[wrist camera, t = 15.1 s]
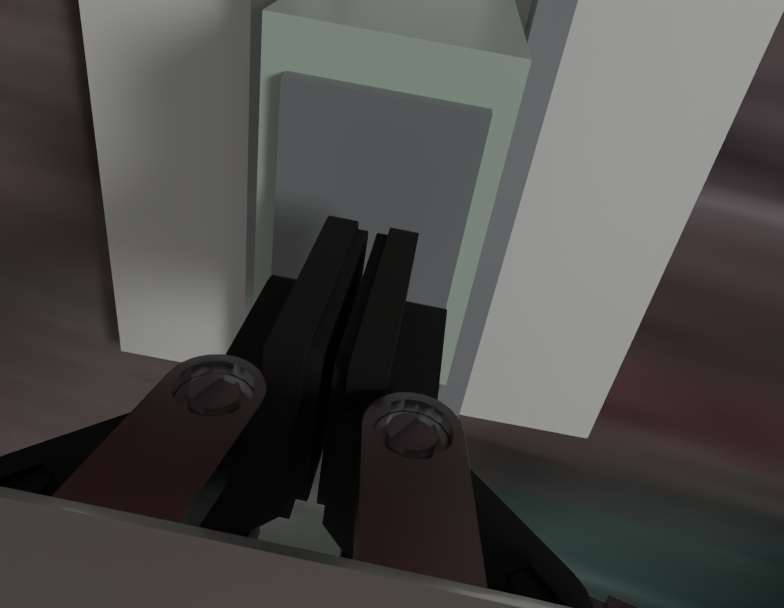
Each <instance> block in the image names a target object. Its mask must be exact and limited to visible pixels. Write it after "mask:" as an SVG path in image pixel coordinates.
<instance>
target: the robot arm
mask: <svg viewBox="0 0 784 608" xmlns="http://www.w3.org/2000/svg"><path fill="white" fill-rule="evenodd" d="M358 228H359V222H358V221H355V220H350V219H345V218H340V217H335V216H330V215H329V216H328V217H327V219H326V221H325V223H324V225H323V227H322V229H321V231H320V233H319V236H318V238H317V240H316V242H315V244H314V246H313V248H312V250H311V252H310V254H309V256H308V258H307V260H306V262H305V264H304V266H303V268H302V270H301V272H300V274H299V276H298V278H297V279H293V278H288V277H283V276H278V275H271V276H270V277H269V279H268V280H267V282H266V284H265V286H264V287H263V289H262V291H261V293H260V294H259V296H258V298H257V300H256V301H255V303H254V305H253V307H252V308H251V310H250V312H249V314H248V316H247V317H246V319H245V321H244V323H243V324H242V326H241V328H240V330H239V331H238V333H237V335H236V337H235V338H234V340H233V342H232V344H231V346H230V347H229V349H228V351H227V353H226V354H208V355H203V356H198V357H193V358H191V359H188V360H186V361H184V362H181V363H179V364H178V365H176V366H175V367H174V368H173V369H171V370H170V371H169V372H168V373H167V374H166V375H165V376H164V377H163V378H162V379H161V380H160V381H159V382H158V383H157V384H156V385H155V387H154V388H153V389H152V390H151V391H150V392H149V393H148V394H147V395H146V396H145V397H144V398H143V399H142V400H141V401H140V403H139V404H138V405H137V406H136V407H135V408H134V409H133V410H132V411H131V412H130V413H127V414H124V415H121V416H118V417H115V418H112V419H109V420H106V421H104V422H101V423H98V424H95V425H92V426H89V427H86V428H83V429H80V430H77V431H74V432H71V433H68V434H65V435H62V436H59V437H56V438H53V439H50V440H47V441H45V442H42V443H39V444H36V445H33V446H30V447H27V448H24V449H21V450H18V451H15V452H12V453H9V454H6V455H4V456H2V457H0V608H639V607H636V606H634V605H631V604H629V603H627V602H624V601H622V600H620V599H617V598H615V597H613V596H610V595H609V596H608V598H607V599H606V601H605V602H603V601H601V600H598V599H596V598H594V597H591V596H589V595H588V593H587V591H586V588H585V587H584V586H583V585H582V583H581V582H580V581H579V579H578V578H577V577H576V576H575V574H574V573H573V572H572V571H571V570H570V569H569V568H568V567H567V566H566V565H565V564H564V563H563V562H562V561H561V560H560V559H559V558H558V557H557V556H556V555H555V554H554V553H553V552H552V551H551V550H550V549H549V548H548V547H547V546H546V545H545V544H544V543H543V542H542V541H541V540H540V539H539V538H538V537H537V536H536V535H535V534H534V533H533V532H532V531H531V530H530V529H529V528H528V527H527V526H526V525H525V524H524V523H523V522H522V521H521V520H520V519H519V518H518V517H517V516H516V515H515V514H514V513H513V512H512V511H511V510H510V509H509V508H508V507H507V506H506V504H505V503H504V502H503V501H502V500H501V499H500V498H499V497H498V496H497V495H496V494H495V493H494V492H493V491H492V490H491V489H490V488H489V487H488V486H487V485H486V484H485V483H484V482H483V481H482V480H481V479H480V478H479V477H478V476H477V475H476V474H475V473H474V472H473V471H472V470H471V469H470V466H469V459H468V453H467V446H466V439H465V433H464V430H463V427H462V424H461V421H460V420H459V418H458V417H457V416H456V415H455V413H454V412H453V411H452V410H451V409H450V408H448V407H447V406H446V405H444V404H443V403H442V402H440V401H438V392H439V382H440V373H441V364H442V355H443V345H444V336H445V327H446V318H447V309H444V308H439V307H434V306H429V305H424V304H419V303H414V302H409V301H406V299H407V294H408V288H409V283H410V278H411V273H412V268H413V263H414V257H415V252H416V247H417V242H418V237H419V233H417V232H412V231H407V230H401V229H396V228H391V227H390V229H389V233H388V235H386V234H381V233H377V234H376V238H375V241H374V244H373V247H372V250H371V253H370V256H369V259H368V262H367V265H366V268H365V271H364V274H363V269H364V262H365V255H366V248H367V241H368V231H366V230H361V229H358ZM362 276H363V277H362ZM322 451H323V456H322V465H321V473H320V481H319V489H318V497H317V503H318V504H323V505H325V509H324V517H323V525H324V527H325V528H326V529H327V531H328V532H329V533H330V535H331V536H332V537H333V539H334V540H335V542H336V543H337V544H338V546H339V547H340V548H341V550H340V556H339V557H338V556H334V555H329V554H324V553H319V552H315V551H310V550H305V549H300V548H296V547H291V546H286V545H281V544H277V543H272V542H267V541H262V540H258V539H257V538H258V536H259V533H260V526H261V525H263V524H265V523H267V522H269V521H271V520H273V519H275V518H277V517H283V518H288V519H289V518H290V515H291V512H292V509H293V506H294V502H295V499H298V500H303V501H307V500H308V497H309V494H310V491H311V488H312V484H313V481H314V478H315V474H316V471H317V468H318V464H319V461H320V458H321V454H322Z"/></svg>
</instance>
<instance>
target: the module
mask: <svg viewBox="0 0 784 608" xmlns="http://www.w3.org/2000/svg"><path fill="white" fill-rule="evenodd" d="M531 62H532V58H531V54H530V51H529V47H528V44H527V40H526V37H525V34H524V30H523V27H522V23H521V20H520V16H519V13H518V9H517V6H516V3H515V0H277V1H276V2H274V3H273V4H271V5H269V6H268V7H266V8H265V9H263V10H262V39H261V71H260V103H259V135H258V167H257V200H256V232H255V264H254V296H253V305H254V303H255V301H256V300H257V298H258V296H259V294H260V293H261V291H262V289H263V287H264V286H265V284H266V282H267V280H268V279H269V277H270V276H271V275H278V276H283V277H288V278H293V279H297V278H298V276H299V274H300V272H301V270H302V268H303V266H304V264H305V262H306V260H307V258H308V256H309V254H310V252H311V250H312V248H313V246H314V244H315V242H316V240H317V238H318V236H319V233H320V231H321V229H322V227H323V225H324V223H325V221H326V219H327V217H328V216H329V215H330V216H335V217H340V218H345V219H350V220H355V221H358V222H359V228H358V229H361V230H366V231H368V241H367V248H366V255H365V262H364V269H363V274H364V271H365V268H366V265H367V262H368V259H369V256H370V253H371V250H372V247H373V244H374V241H375V238H376V234H377V233H381V234H386V235H388V233H389V229H390V227H391V228H396V229H401V230H407V231H412V232H417V233H419V237H418V242H417V247H416V252H415V257H414V263H413V268H412V273H411V278H410V283H409V288H408V294H407V299H406V301H409V302H414V303H419V304H424V305H429V306H434V307H439V308H444V309H447V318H446V327H445V336H444V345H443V355H442V364H441V373H440V382H439V384H443V385H446V383H447V380H448V376H449V372H450V368H451V364H452V361H453V357H454V353H455V349H456V345H457V342H458V338H459V334H460V330H461V327H462V323H463V319H464V315H465V311H466V308H467V304H468V300H469V296H470V293H471V289H472V285H473V281H474V277H475V274H476V270H477V266H478V262H479V259H480V255H481V251H482V247H483V243H484V240H485V236H486V232H487V228H488V225H489V221H490V217H491V213H492V209H493V206H494V202H495V198H496V194H497V190H498V187H499V183H500V179H501V175H502V172H503V168H504V164H505V160H506V156H507V153H508V149H509V145H510V141H511V138H512V134H513V130H514V126H515V122H516V119H517V115H518V111H519V107H520V104H521V100H522V96H523V92H524V88H525V85H526V81H527V77H528V73H529V70H530V66H531ZM362 277H363V276H362Z"/></svg>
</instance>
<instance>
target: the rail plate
mask: <svg viewBox="0 0 784 608" xmlns="http://www.w3.org/2000/svg"><path fill="white" fill-rule="evenodd" d="M276 1H277V0H79V8H80V17H81V25H82V33H83V41H84V49H85V58H86V66H87V74H88V82H89V90H90V99H91V107H92V115H93V123H94V132H95V140H96V148H97V156H98V164H99V173H100V181H101V189H102V197H103V205H104V214H105V222H106V230H107V238H108V246H109V255H110V263H111V271H112V279H113V288H114V296H115V304H116V312H117V320H118V329H119V337H120V345H121V351H125V352H130V353H135V354H140V355H146V356H151V357H156V358H162V359H167V360H172V361H178V362H184V361H186V360H188V359H191V358H193V357H198V356H203V355H208V354H226V353H227V351H228V349H229V347H230V346H231V344H232V342H233V340H234V338H235V337H236V335H237V333H238V331H239V330H240V328H241V326H242V324H243V323H244V321H245V319H246V317H247V316H248V314H249V312H250V310H251V308H252V307H253V296H254V264H255V232H256V200H257V167H258V135H259V103H260V71H261V39H262V10H263V9H265V8H266V7H268V6H269V5H271V4H273V3H274V2H276ZM515 3H516V6H517V9H518V13H519V16H520V20H521V23H522V27H523V30H524V34H525V37H526V40H527V44H528V47H529V51H530V54H531V58H532V62H531V66H530V70H529V73H528V77H527V81H526V85H525V88H524V92H523V96H522V100H521V104H520V107H519V111H518V115H517V119H516V122H515V126H514V130H513V134H512V138H511V141H510V145H509V149H508V153H507V156H506V160H505V164H504V168H503V172H502V175H501V179H500V183H499V187H498V190H497V194H496V198H495V202H494V206H493V209H492V213H491V217H490V221H489V225H488V228H487V232H486V236H485V240H484V243H483V247H482V251H481V255H480V259H479V262H478V266H477V270H476V274H475V277H474V281H473V285H472V289H471V293H470V296H469V300H468V304H467V308H466V311H465V315H464V319H463V323H462V327H461V330H460V334H459V338H458V342H457V345H456V349H455V353H454V357H453V361H452V364H451V368H450V372H449V376H448V380H447V383H446V385H443V384H439V392H438V401H440V402H442V403H443V404H444V405H446V406H447V407H448V408H450V409H451V410H452V411H453V412H454V413H455V415H456V416H457V417H459V414H460V415H465V416H471V417H476V418H481V419H487V420H492V421H497V422H503V423H508V424H513V425H519V426H524V427H529V428H535V429H540V430H545V431H551V432H556V433H561V434H567V435H572V436H577V437H583V438H588V436H589V434H590V431H591V429H592V427H593V425H594V423H595V420H596V418H597V416H598V414H599V412H600V410H601V407H602V405H603V403H604V401H605V399H606V397H607V394H608V392H609V390H610V388H611V386H612V383H613V381H614V379H615V377H616V375H617V373H618V370H619V368H620V366H621V364H622V362H623V359H624V357H625V355H626V353H627V351H628V349H629V346H630V344H631V342H632V340H633V338H634V336H635V333H636V331H637V329H638V327H639V325H640V322H641V320H642V318H643V316H644V314H645V312H646V309H647V307H648V305H649V303H650V301H651V298H652V296H653V294H654V292H655V290H656V288H657V285H658V283H659V281H660V279H661V277H662V275H663V272H664V270H665V268H666V266H667V264H668V261H669V259H670V257H671V255H672V253H673V251H674V248H675V246H676V244H677V242H678V240H679V237H680V235H681V233H682V231H683V229H684V227H685V224H686V222H687V220H688V218H689V216H690V214H691V211H692V209H693V207H694V205H695V203H696V200H697V198H698V196H699V194H700V192H701V190H702V187H703V185H704V183H705V181H706V179H707V176H708V174H709V172H710V170H711V168H712V166H713V163H714V161H715V159H716V157H717V155H718V153H719V150H720V148H721V146H722V144H723V142H724V139H725V137H726V135H727V133H728V131H729V129H730V126H731V124H732V122H733V120H734V118H735V116H736V113H737V111H738V109H739V107H740V105H741V102H742V100H743V98H744V96H745V94H746V92H747V89H748V87H749V85H750V83H751V81H752V78H753V76H754V74H755V72H756V70H757V68H758V65H759V63H760V61H761V59H762V57H763V55H764V52H765V50H766V48H767V46H768V44H769V41H770V39H771V37H772V35H773V33H774V31H775V28H776V26H777V24H778V22H779V20H780V17H781V15H782V13H783V11H784V0H515Z"/></svg>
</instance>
